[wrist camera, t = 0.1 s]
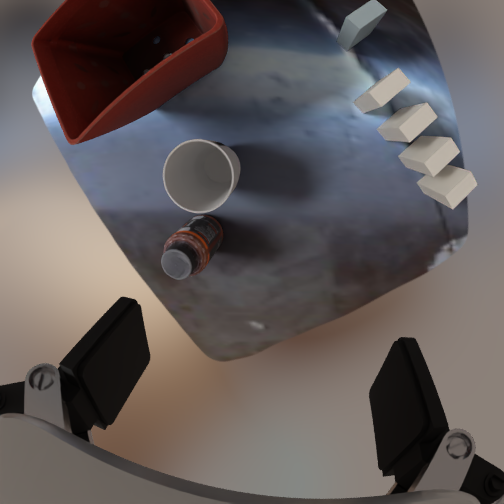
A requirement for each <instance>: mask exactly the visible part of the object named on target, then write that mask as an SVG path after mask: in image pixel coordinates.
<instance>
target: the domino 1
mask: <svg viewBox="0 0 504 504" xmlns="http://www.w3.org/2000/svg"><path fill="white" fill-rule="evenodd" d="M386 11H387V9H386V8H384V7H383V6H382V5H381V4H380V3H379V2H378V1H376V0H371V1H369V2H368V3H366V4H365V5H363V6H362V7H360V8H359V9H357V10H356V11H354V12H353V13H351V14H350V15H348V16H347V17H346V18H345V21H344V24H343V26H342V29H341V31H340V34H339V36H338V39H337V41H336V42H337V43H338V44H339V45H341V46H342V47H343V48H344V49H345V50H346V51H348V50H349V49H351V48H352V47H353V46H355V45H356V44H357V43H359V42H360V41H361V40H363V39H364V38H365V37H367V36H368V35H369V34H370V33H371V32H372V31H373V29H374V28H375V26H376V25H377V24H378V22H379V21H380V20H381V18H382V17H383V15H384V14H385V13H386Z"/></svg>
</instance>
